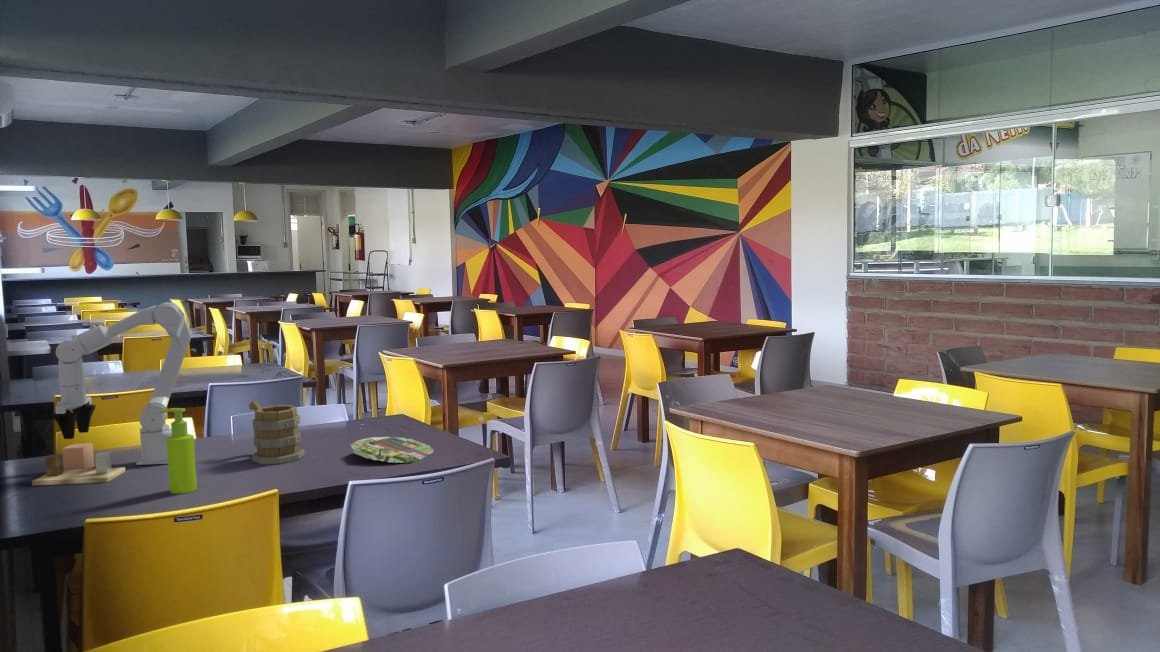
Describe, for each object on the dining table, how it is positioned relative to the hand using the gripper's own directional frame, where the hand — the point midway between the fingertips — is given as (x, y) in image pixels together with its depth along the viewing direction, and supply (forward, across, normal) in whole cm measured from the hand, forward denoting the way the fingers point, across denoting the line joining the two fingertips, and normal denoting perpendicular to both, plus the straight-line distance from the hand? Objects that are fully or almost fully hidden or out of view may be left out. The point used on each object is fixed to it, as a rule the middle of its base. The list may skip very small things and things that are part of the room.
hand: (76, 435), depth 221 cm
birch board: (+9, +9, +5) cm, 14 cm away
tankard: (+10, -6, +49) cm, 50 cm away
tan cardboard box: (+9, 0, 0) cm, 9 cm away
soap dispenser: (+10, +25, +36) cm, 45 cm away
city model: (+10, -1, +83) cm, 83 cm away
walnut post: (+8, +9, -1) cm, 12 cm away
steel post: (+8, +9, +11) cm, 16 cm away
